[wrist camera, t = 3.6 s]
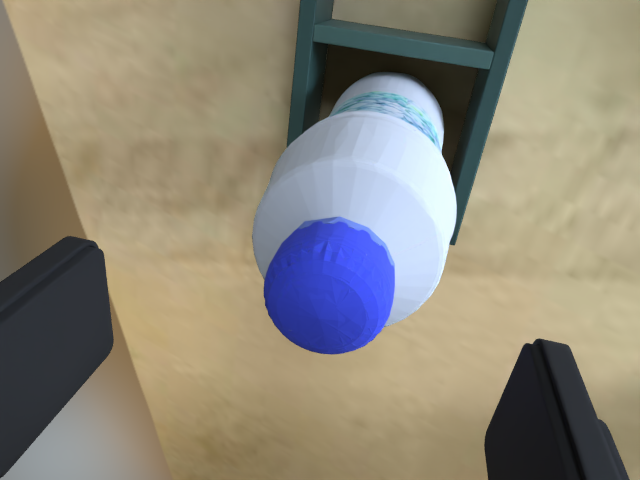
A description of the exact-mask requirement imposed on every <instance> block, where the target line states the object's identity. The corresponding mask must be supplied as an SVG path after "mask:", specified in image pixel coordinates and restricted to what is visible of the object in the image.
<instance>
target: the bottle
mask: <svg viewBox="0 0 640 480" xmlns="http://www.w3.org/2000/svg"><path fill="white" fill-rule="evenodd" d="M443 139H444V120H443V114H442V110H441V108H440V105H439V103H438V102H437V100H436V98H435V97H434V95H433V94H432V92H431V91H430V90H429V89H428V88H427V87H426V86H425V85H424V84H423V83H422V82H421V81H420V80H419V79H417V78H415V77H413V76H411V75H409V74H404V73H397V72H376V73H372V74H369V75H367V76H365V77H363V78H361V79H360V80H358V81H357V82H355V83H353V84H352V85H351V86H350V87H349V88H348V89H347V90H346V91H345V92H344V93H343V94H342V95H341V97H340V98H339V100H338V101H337V102H336V104H335V106H334V108H333V110H332V112H331V114H330V116H329V117H328V118H326V119H324V120H322V121H320V122H318V123H316V124H315V125H313V126H312V127H311V128H309V129H308V130H307V131H305V132H304V133H303V134H302V135H300V136H299V137H298V138H297V139H296V140H294V141H293V142H292V143H291V144H290V145H289V146H288V147H287V149H286V150H285V151H284V152H283V153H282V155H281V156H280V158H279V160H278V161H277V163H276V165H275V167H274V169H273V172H272V175H271V178H270V181H269V184H268V186H267V189H266V191H265V193H264V195H263V197H262V199H261V201H260V204H259V206H258V208H257V211H256V215H255V218H254V225H253V234H252V239H253V248H254V255H255V258H256V261H257V265H258V268H259V270H260V272H261V274H262V276H263V278H264V280H265V281H264V298H265V306H266V308H267V310H268V314H269V316H270V318H271V319H272V321H273V323H274V325H275V326H276V327H277V328H278V329H279V330H280V332H281V333H282V334H283V335H284V336H285V337H286V338H288V339H289V340H290V341H291V342H293V343H295V344H296V345H298V346H300V347H302V348H304V349H307V350H309V351H313V352H317V353H321V354H341V353H345V352H349V351H354V350H356V349H358V348H361V347H363V346H365V345H366V344H367V343H368V342H370V341H372V340H373V339H374V338H375V337H376V335H377V334H378V333H380V332H381V330H382V328H383V327H386V326H389V325H391V324H394V323H396V322H398V321H401V320H403V319H405V318H406V317H408V316H409V315H411V314H412V313H413V312H415V311H416V310H417V309H418V308H419V307H420V306H421V305H422V304H423V303H424V302H425V301H426V300H427V299H428V298H429V297H430V296H431V295H432V293H433V291H434V290H435V288H436V286H437V285H438V283H439V281H440V278H441V275H442V272H443V269H444V265H445V261H446V256H447V252H448V248H449V243H450V240H451V237H452V235H453V231H454V227H455V223H456V215H457V204H456V195H455V191H454V187H453V183H452V180H451V175H450V172H449V170H448V167H447V164H446V162H445V160H444V158H443V157H442V154H441V150H442V145H443Z"/></svg>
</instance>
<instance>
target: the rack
mask: <svg viewBox="0 0 640 480" xmlns="http://www.w3.org/2000/svg"><path fill="white" fill-rule="evenodd" d="M527 2H528V0H497V2H496V6H495V10H494V13H493V17H492V21H491V24H490V28H489V32H488V35H487V39H486V43H484V42H478V41H471V40H465V39H458V38H452V37H445V36H439V35H432V34H426V33H419V32H413V31H406V30H400V29H393V28H387V27H380V26H374V25H367V24H361V23H354V22H348V21H341V20H335V19H332V11H333V3H334V0H300V10H299V21H298V31H297V42H296V53H295V63H294V74H293V85H292V95H291V106H290V117H289V127H288V138H287V147H288V146H289V145H290V144H291V143H292V142H293V141H294V140H296V139H297V138H298V137H299V136H300V135H302V134H303V133H304V132H305V131H307V130H308V129H309V128H311V127H312V126H313V125H315V124H316V123H318V122H319V116H320V107H321V99H322V91H323V83H324V75H325V67H326V59H327V51H328V44H331V45H337V46H343V47H350V48H356V49H362V50H368V51H375V52H381V53H387V54H393V55H399V56H406V57H412V58H418V59H424V60H431V61H437V62H443V63H449V64H455V65H462V66H468V67H474V68H479V69H478V72H477V76H476V80H475V83H474V87H473V91H472V94H471V98H470V102H469V105H468V109H467V113H466V116H465V120H464V124H463V127H462V131H461V135H460V139H459V142H458V146H457V150H456V153H455V157H454V161H453V164H452V168H451V172H450V175H451V180H452V183H453V187H454V191H455V195H456V204H457V215H456V223H455V227H454V231H453V235H452V237H451V240H450V243H449V244H450V245H455V243H456V240H457V236H458V233H459V229H460V226H461V223H462V219H463V216H464V213H465V209H466V206H467V203H468V199H469V196H470V193H471V189H472V186H473V183H474V179H475V176H476V173H477V169H478V166H479V163H480V159H481V156H482V153H483V149H484V146H485V143H486V139H487V136H488V133H489V129H490V126H491V123H492V119H493V116H494V113H495V109H496V106H497V103H498V99H499V96H500V93H501V89H502V86H503V83H504V79H505V76H506V73H507V69H508V66H509V63H510V59H511V56H512V53H513V49H514V46H515V43H516V39H517V36H518V33H519V29H520V26H521V23H522V19H523V16H524V12H525V9H526V6H527Z"/></svg>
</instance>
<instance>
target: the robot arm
mask: <svg viewBox="0 0 640 480" xmlns="http://www.w3.org/2000/svg"><path fill="white" fill-rule="evenodd" d="M112 346H113V331H112V323H111V313H110V304H109V295H108V286H107V277H106V268H105V259H104V253H103V251H102V250H101V249H99V248H98V245H97V244H96V242H94V241H91V240H86V239H81V238H77V237H72V236H68V237H65V238H63V239H62V240H60V241H59V242H57V243H56V244H55V245H53V246H52V247H50V248H49V249H47V250H46V251H45V252H43V253H42V254H40V255H39V256H37V257H36V258H34V259H33V260H31V261H30V262H29V263H27V264H26V265H24V266H23V267H22V268H20V269H18V270H17V271H16V272H14V273H13V274H11V275H10V276H9V277H7V278H6V279H4V280H3V281H1V282H0V478H1V477H3V476H4V475H5V474H6V473H7V472H8V471H9V469H10V468H11V467H12V466H13V465H14V464H15V463H16V461H17V460H18V459H19V458H20V457H21V456H22V454H23V453H24V452H25V451H26V450H27V448H29V446H30V445H31V444H32V443H33V442H34V441H35V439H36V438H37V437H38V436H39V435H40V433H42V431H43V430H44V429H45V428H46V427H47V426H48V424H49V423H50V422H51V421H52V420H53V419H54V417H55V416H56V415H57V414H58V413H59V412H60V411H61V409H62V408H63V407H64V406H65V405H66V404H67V402H68V401H69V400H70V399H71V398H72V397H73V395H74V394H75V393H76V392H77V391H78V390H79V389H80V387H81V386H82V385H83V384H84V383H85V382H86V381H87V379H88V378H89V377H90V376H91V375H92V374H93V372H94V371H95V370H96V369H97V368H98V367H99V366H100V364H101V363H102V362H103V361H104V360H105V359H106V357H107V356H108V355H109V353H110V351H111V349H112ZM484 446H485V456H486V464H487V473H488V480H630V479H629V477H628V475H627V472H626V470H625V467H624V465H623V462H622V460H621V457H620V455H619V453H618V450H617V448H616V445H615V443H614V440H613V438H612V435H611V433H610V431H609V429H608V427H607V425H606V424H605V423H604V422H603V421H602V420H600V419H598V418H597V415H596V413H595V410H594V408H593V405H592V403H591V400H590V397H589V395H588V392H587V390H586V387H585V385H584V382H583V380H582V377H581V375H580V372H579V369H578V367H577V364H576V362H575V359H574V357H573V354H572V352H571V349H570V347H569V346H568V345H566V344H562V343H557V342H553V341H548V340H544V339H536V340H535V341H534V343H533V344H529V343H526V344H525V345H524V346H523V348H522V350H521V352H520V355H519V357H518V359H517V362H516V364H515V366H514V369H513V371H512V373H511V375H510V378H509V380H508V382H507V385H506V387H505V389H504V392H503V394H502V396H501V399H500V401H499V403H498V406H497V408H496V410H495V413H494V415H493V417H492V419H491V422H490V424H489V426H488V429H487V431H486V435H485V444H484Z"/></svg>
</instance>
